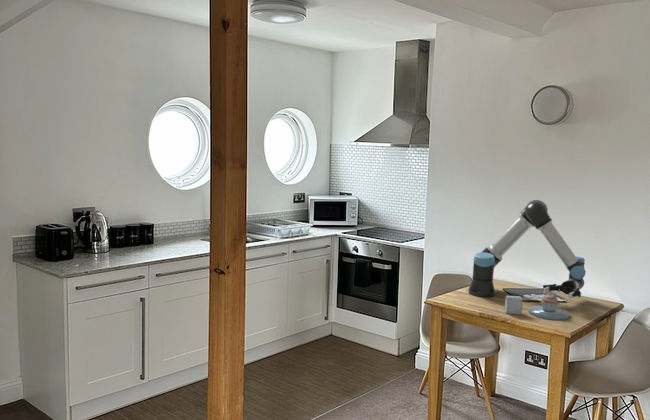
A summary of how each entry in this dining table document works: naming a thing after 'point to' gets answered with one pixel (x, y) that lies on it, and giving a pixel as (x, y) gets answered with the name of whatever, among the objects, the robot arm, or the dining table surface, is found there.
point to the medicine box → (513, 305)
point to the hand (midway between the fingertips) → (556, 293)
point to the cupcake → (549, 302)
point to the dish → (549, 313)
